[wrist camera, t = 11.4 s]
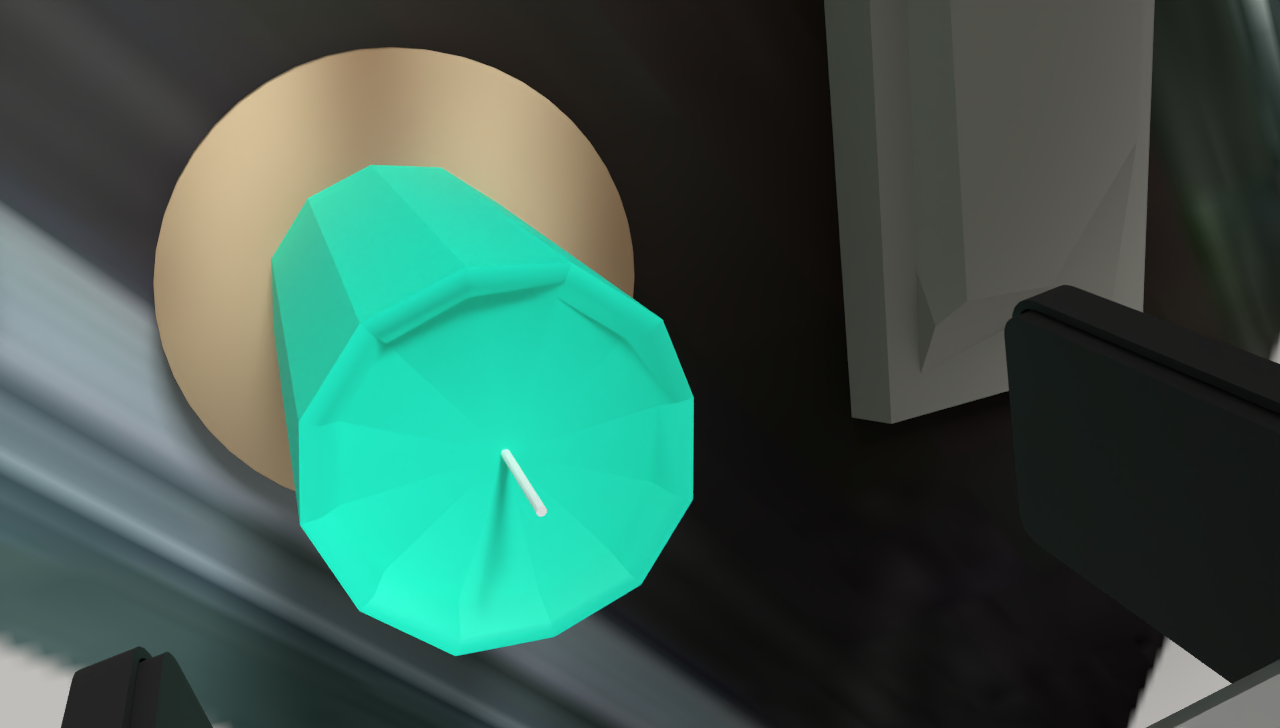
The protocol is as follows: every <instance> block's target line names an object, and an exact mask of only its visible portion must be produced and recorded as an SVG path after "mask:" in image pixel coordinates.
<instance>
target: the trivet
mask: <svg viewBox="0 0 1280 728" xmlns="http://www.w3.org/2000/svg"><path fill="white" fill-rule="evenodd" d="M370 165H390V166H417V167H441V168H443V169H445V170H446V171H448V172H449V173H451V174H452V175H454V176H456V177H457V178H459V179H460V180H462V181H464V182H465V183H467V184H468V185H470V186H472V187H473V188H475V189H476V190H478V191H480V192H481V193H483V194H484V195H486V196H488V197H489V198H491V199H492V200H494V201H496V202H497V203H499V204H500V205H501V206H503V207H504V208H506V209H507V210H509V211H510V212H511V213H513V214H514V215H516V216H517V217H518V218H520V219H521V220H523V221H524V222H525V223H527V224H528V225H530V226H531V227H533V228H534V229H535V230H537V231H538V232H540V233H541V234H542V235H544V236H545V237H547V238H548V239H549V240H551V241H552V242H554V243H555V244H557V245H558V246H559V247H561V248H562V249H564V250H565V251H566V252H568V253H569V254H571V255H572V256H574V257H575V258H576V259H578V260H579V261H581V262H582V263H583V264H585V265H586V266H588V267H589V268H590V269H592V270H593V271H595V272H596V273H598V274H599V275H600V276H602V277H603V278H605V279H606V280H607V281H609V282H610V283H612V284H613V285H614V286H616V287H617V288H619V289H620V290H622V291H623V292H624V293H626V294H627V295H629V296H630V297H631V298H633V291H634V260H633V247H632V241H631V236H630V231H629V225H628V220H627V217H626V214H625V211H624V208H623V205H622V202H621V199H620V196H619V193H618V191H617V189H616V187H615V185H614V182H613V180H612V178H611V176H610V174H609V172H608V170H607V168H606V166H605V165H604V163H603V161H602V160H601V158H600V157H599V155H598V154H597V152H596V151H595V149H594V148H593V146H592V144H591V143H590V142H589V141H588V139H587V138H586V137H585V136H584V135H583V134H582V132H581V131H580V130H579V129H578V128H577V126H576V125H575V124H574V123H573V122H572V121H571V120H570V119H569V118H568V117H567V116H566V115H565V114H564V113H563V112H561V111H560V110H559V109H558V108H557V107H556V106H555V105H554V104H553V103H551V102H550V101H549V100H548V99H547V98H545V97H544V96H542V95H541V94H539V93H538V92H536V91H535V90H533V89H532V88H531V87H529V86H528V85H526V84H525V83H523V82H521V81H519V80H517V79H515V78H513V77H512V76H510V75H508V74H506V73H504V72H502V71H500V70H498V69H496V68H493V67H490V66H488V65H485V64H482V63H479V62H476V61H473V60H470V59H467V58H465V57H460V56H455V55H450V54H445V53H440V52H435V51H430V50H425V49H415V48H400V47H381V48H366V49H356V50H351V51H346V52H341V53H337V54H332V55H327V56H324V57H321V58H318V59H315V60H312V61H310V62H307V63H304V64H301V65H298V66H295V67H293V68H291V69H290V70H288V71H286V72H284V73H282V74H280V75H278V76H276V77H274V78H272V79H270V80H268V81H266V82H265V83H263V84H262V85H261V86H259V87H258V88H256V89H255V90H254V91H252V92H251V93H249V94H248V95H247V96H245V97H244V98H242V99H241V100H240V101H238V102H237V103H236V104H235V105H234V106H233V107H232V108H231V109H230V110H229V111H228V112H227V113H226V114H225V115H224V116H223V117H221V118H220V119H219V120H218V121H217V122H216V123H215V124H214V126H213V127H212V128H211V129H210V131H209V132H208V133H207V134H206V136H205V137H204V138H203V140H202V141H201V142H200V143H199V145H198V146H197V147H196V148H195V150H194V152H193V153H192V155H191V157H190V158H189V160H188V162H187V164H186V165H185V167H184V169H183V171H182V172H181V174H180V176H179V178H178V180H177V183H176V185H175V188H174V190H173V193H172V195H171V198H170V200H169V203H168V206H167V208H166V211H165V214H164V218H163V222H162V226H161V231H160V235H159V239H158V244H157V248H156V257H155V270H154V282H153V283H154V298H155V312H156V319H157V323H158V328H159V333H160V337H161V342H162V346H163V349H164V352H165V354H166V357H167V360H168V362H169V365H170V368H171V370H172V373H173V376H174V378H175V380H176V381H177V383H178V385H179V387H180V389H181V390H182V392H183V394H184V396H185V398H186V399H187V401H188V403H189V405H190V406H191V407H192V409H193V410H194V411H195V413H196V414H197V415H198V417H199V418H200V419H201V421H202V422H203V423H204V425H205V426H206V427H207V429H208V430H209V431H210V432H211V433H212V434H213V435H214V436H215V437H216V438H217V439H218V440H219V441H220V442H221V443H222V444H223V445H224V446H225V447H226V448H227V449H228V450H229V451H230V452H231V453H233V454H234V455H235V456H237V457H238V458H239V459H241V460H242V461H243V462H244V463H246V464H247V465H248V466H250V467H251V468H252V469H254V470H255V471H257V472H258V473H260V474H262V475H264V476H265V477H267V478H269V479H271V480H272V481H274V482H276V483H278V484H279V485H281V486H283V487H286V488H288V489H291V490H293V491H295V485H294V478H293V470H292V463H291V455H290V448H289V440H288V433H287V425H286V418H285V410H284V403H283V396H282V388H281V381H280V373H279V366H278V358H277V351H276V343H275V336H274V328H273V296H272V257H273V255H274V254H275V252H276V250H277V249H278V247H279V245H280V244H281V242H282V240H283V239H284V237H285V235H286V234H287V232H288V230H289V229H290V227H291V225H292V224H293V222H294V220H295V219H296V217H297V215H298V214H299V212H300V210H301V209H302V207H303V205H304V204H305V202H306V200H307V199H308V198H309V197H311V196H313V195H315V194H317V193H319V192H320V191H322V190H324V189H326V188H328V187H330V186H332V185H334V184H336V183H337V182H339V181H341V180H343V179H345V178H347V177H349V176H351V175H353V174H354V173H356V172H358V171H360V170H362V169H364V168H366V167H368V166H370Z"/></svg>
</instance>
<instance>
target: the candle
mask: <svg viewBox="0 0 1280 728" xmlns="http://www.w3.org/2000/svg"><path fill="white" fill-rule="evenodd" d="M272 296H273V328H274V336H275V343H276V351H277V358H278V366H279V373H280V381H281V388H282V396H283V403H284V410H285V418H286V425H287V433H288V440H289V448H290V455H291V463H292V470H293V478H294V485H295V493H296V500H297V507H298V515H299V522H300V526H301V527H302V529H303V530H304V532H305V533H306V534H307V536H308V537H309V539H310V540H311V542H312V543H313V545H314V546H315V548H316V549H317V550H318V552H319V553H320V555H321V556H322V558H323V559H324V561H325V562H326V563H327V565H328V566H329V568H330V569H331V571H332V572H333V574H334V575H335V576H336V578H337V579H338V581H339V582H340V584H341V585H342V587H343V588H344V590H345V591H346V592H347V594H348V595H349V597H350V598H351V600H352V601H353V603H354V604H355V605H356V607H357V608H358V610H359V611H361V612H363V613H365V614H367V615H369V616H371V617H373V618H375V619H378V620H380V621H382V622H384V623H386V624H388V625H390V626H392V627H395V628H397V629H399V630H401V631H403V632H405V633H407V634H409V635H412V636H414V637H416V638H418V639H420V640H422V641H424V642H426V643H429V644H431V645H433V646H435V647H437V648H439V649H441V650H443V651H445V652H448V653H450V654H452V655H454V656H459V655H464V654H469V653H474V652H480V651H485V650H490V649H495V648H500V647H505V646H511V645H516V644H521V643H526V642H531V641H536V640H542V639H547V638H552V637H555V636H557V635H558V634H560V633H562V632H563V631H565V630H567V629H568V628H570V627H572V626H573V625H575V624H577V623H578V622H580V621H582V620H583V619H585V618H587V617H588V616H590V615H592V614H593V613H595V612H597V611H598V610H600V609H602V608H603V607H605V606H607V605H608V604H610V603H611V602H613V601H615V600H616V599H618V598H620V597H621V596H623V595H625V594H626V593H628V592H630V591H631V590H633V589H635V588H636V587H638V586H640V585H641V584H642V582H643V581H644V579H645V578H646V576H647V574H648V573H649V571H650V569H651V568H652V566H653V564H654V563H655V561H656V559H657V558H658V556H659V555H660V553H661V551H662V550H663V548H664V546H665V545H666V543H667V541H668V540H669V538H670V536H671V535H672V533H673V531H674V530H675V528H676V527H677V525H678V523H679V522H680V520H681V518H682V517H683V515H684V513H685V512H686V510H687V508H688V507H689V505H690V504H691V502H692V500H693V438H694V397H693V394H692V392H691V389H690V387H689V384H688V382H687V379H686V377H685V374H684V372H683V369H682V367H681V364H680V362H679V359H678V357H677V354H676V352H675V349H674V347H673V344H672V342H671V339H670V337H669V334H668V332H667V329H666V327H665V324H664V322H663V319H661V318H660V317H658V316H657V315H655V314H654V313H653V312H651V311H650V310H648V309H647V308H646V307H644V306H643V305H641V304H640V303H639V302H637V301H636V300H634V299H633V298H631V297H630V296H629V295H627V294H626V293H624V292H623V291H622V290H620V289H619V288H617V287H616V286H614V285H613V284H612V283H610V282H609V281H607V280H606V279H605V278H603V277H602V276H600V275H599V274H598V273H596V272H595V271H593V270H592V269H590V268H589V267H588V266H586V265H585V264H583V263H582V262H581V261H579V260H578V259H576V258H575V257H574V256H572V255H571V254H569V253H568V252H566V251H565V250H564V249H562V248H561V247H559V246H558V245H557V244H555V243H554V242H552V241H551V240H549V239H548V238H547V237H545V236H544V235H542V234H541V233H540V232H538V231H537V230H535V229H534V228H533V227H531V226H530V225H528V224H527V223H525V222H524V221H523V220H521V219H520V218H518V217H517V216H516V215H514V214H513V213H511V212H510V211H509V210H507V209H506V208H504V207H503V206H501V205H500V204H499V203H497V202H496V201H494V200H492V199H491V198H489V197H488V196H486V195H484V194H483V193H481V192H480V191H478V190H476V189H475V188H473V187H472V186H470V185H468V184H467V183H465V182H464V181H462V180H460V179H459V178H457V177H456V176H454V175H452V174H451V173H449V172H448V171H446V170H445V169H443V168H441V167H417V166H390V165H370V166H368V167H366V168H364V169H362V170H360V171H358V172H356V173H354V174H353V175H351V176H349V177H347V178H345V179H343V180H341V181H339V182H337V183H336V184H334V185H332V186H330V187H328V188H326V189H324V190H322V191H320V192H319V193H317V194H315V195H313V196H311V197H309V198H308V199H307V200H306V202H305V204H304V205H303V207H302V209H301V210H300V212H299V214H298V215H297V217H296V219H295V220H294V222H293V224H292V225H291V227H290V229H289V230H288V232H287V234H286V235H285V237H284V239H283V240H282V242H281V244H280V245H279V247H278V249H277V250H276V252H275V254H274V255H273V257H272Z"/></svg>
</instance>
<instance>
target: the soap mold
mask: <svg viewBox="0 0 1280 728" xmlns="http://www.w3.org/2000/svg"><path fill="white" fill-rule="evenodd" d="M1154 5H1155V0H824V6H825V22H826V37H827V52H828V67H829V83H830V98H831V113H832V128H833V143H834V159H835V174H836V189H837V204H838V220H839V235H840V250H841V265H842V279H843V294H844V309H845V324H846V339H847V353H848V368H849V383H850V398H851V413H852V417H853V418H859V419H865V420H871V421H877V422H884V423H890V424H892V423H896V422H899V421H903V420H907V419H910V418H914V417H917V416H921V415H924V414H928V413H931V412H935V411H938V410H942V409H946V408H949V407H953V406H956V405H960V404H963V403H967V402H970V401H974V400H977V399H981V398H985V397H988V396H992V395H995V394H999V393H1002V392H1006V391H1009V386H1008V374H1007V362H1006V350H1005V339H1004V328H1005V325H1006V322H1007V321H1008V320H1009V319H1011V318H1012V313H1013V311H1014V308H1015V306H1016V305H1017V304H1018V303H1019V302H1020V301H1022V300H1025V299H1028V298H1030V297H1033V296H1035V295H1038V294H1040V293H1043V292H1045V291H1048V290H1051V289H1053V288H1056V287H1058V286H1062V285H1070V286H1074V287H1077V288H1079V289H1082V290H1085V291H1087V292H1090V293H1093V294H1095V295H1098V296H1100V297H1103V298H1106V299H1108V300H1111V301H1114V302H1116V303H1119V304H1122V305H1124V306H1127V307H1130V308H1132V309H1135V310H1138V311H1140V312H1143V295H1144V269H1145V242H1146V216H1147V189H1148V163H1149V137H1150V110H1151V84H1152V57H1153V31H1154Z"/></svg>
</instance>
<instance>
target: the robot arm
mask: <svg viewBox="0 0 1280 728" xmlns="http://www.w3.org/2000/svg"><path fill="white" fill-rule="evenodd" d="M1004 339H1005V350H1006V362H1007V374H1008V386H1009V397H1010V409H1011V421H1012V432H1013V444H1014V456H1015V468H1016V479H1017V491H1018V503H1019V513H1020V518H1021V521H1022V524H1023V526H1024V528H1025V530H1026V532H1027V533H1028V535H1029V536H1030V537H1031V538H1032V540H1033V541H1034V542H1036V543H1037V544H1038V545H1039V546H1041V547H1042V548H1043V549H1045V550H1046V551H1048V552H1049V553H1050V554H1052V555H1053V556H1055V557H1056V558H1057V559H1059V560H1060V561H1061V562H1063V563H1064V564H1066V565H1067V566H1068V567H1070V568H1071V569H1073V570H1074V571H1075V572H1077V573H1078V574H1080V575H1081V576H1082V577H1084V578H1085V579H1087V580H1088V581H1089V582H1091V583H1092V584H1094V585H1095V586H1096V587H1098V588H1099V589H1101V590H1102V591H1103V592H1105V593H1106V594H1108V595H1109V596H1110V597H1112V598H1113V599H1115V600H1116V601H1117V602H1119V603H1120V604H1121V605H1123V606H1124V607H1126V608H1127V609H1128V610H1130V611H1131V612H1133V613H1134V614H1135V615H1137V616H1138V617H1140V618H1141V619H1142V620H1144V621H1145V622H1147V623H1148V624H1149V625H1151V626H1152V627H1154V628H1155V629H1156V630H1158V631H1159V632H1161V633H1162V634H1163V635H1165V636H1166V637H1168V638H1169V639H1170V640H1172V641H1173V642H1175V643H1176V644H1177V645H1179V646H1180V647H1182V648H1183V649H1184V650H1186V651H1187V652H1188V653H1190V654H1191V655H1193V656H1194V657H1195V658H1197V659H1198V660H1200V661H1201V662H1202V663H1204V664H1205V665H1207V666H1208V667H1209V668H1211V669H1212V670H1214V671H1215V672H1217V673H1218V674H1219V675H1221V676H1222V677H1223V678H1225V679H1226V680H1228V681H1229V682H1230V683H1232V684H1231V685H1229V686H1227V687H1225V688H1223V689H1221V690H1219V691H1217V692H1215V693H1213V694H1211V695H1209V696H1207V697H1205V698H1203V699H1201V700H1199V701H1197V702H1196V703H1193V704H1192V705H1190V706H1188V707H1186V708H1184V709H1182V710H1180V711H1178V712H1176V713H1174V714H1172V715H1170V716H1168V717H1166V718H1164V719H1162V720H1160V721H1158V722H1156V723H1154V724H1152V725H1151V726H1149V727H1147V728H1280V364H1278V363H1276V362H1273V361H1270V360H1268V359H1265V358H1262V357H1260V356H1257V355H1254V354H1252V353H1249V352H1246V351H1244V350H1241V349H1238V348H1236V347H1233V346H1230V345H1228V344H1225V343H1223V342H1220V341H1217V340H1215V339H1212V338H1209V337H1207V336H1204V335H1201V334H1199V333H1196V332H1193V331H1191V330H1188V329H1185V328H1183V327H1180V326H1177V325H1175V324H1172V323H1169V322H1167V321H1164V320H1161V319H1159V318H1156V317H1154V316H1151V315H1148V314H1146V313H1143V312H1140V311H1138V310H1135V309H1132V308H1130V307H1127V306H1124V305H1122V304H1119V303H1116V302H1114V301H1111V300H1108V299H1106V298H1103V297H1100V296H1098V295H1095V294H1093V293H1090V292H1087V291H1085V290H1082V289H1079V288H1077V287H1074V286H1070V285H1062V286H1058V287H1056V288H1053V289H1051V290H1048V291H1045V292H1043V293H1040V294H1038V295H1035V296H1033V297H1030V298H1028V299H1025V300H1022V301H1020V302H1019V303H1018V304H1017V305H1016V306H1015V308H1014V311H1013V313H1012V318H1011V319H1009V320H1008V321H1007V322H1006V325H1005V328H1004ZM61 728H213V727H212V725H211V723H210V722H209V720H208V718H207V716H206V714H205V712H204V710H203V709H202V707H201V705H200V703H199V701H198V699H197V697H196V696H195V694H194V692H193V690H192V688H191V686H190V685H189V683H188V681H187V679H186V677H185V675H184V673H183V672H182V670H181V668H180V666H179V664H178V663H177V661H176V659H175V658H174V657H173V656H172V655H171V654H170V653H168V652H165V653H163V654H160V655H158V656H155V657H153V658H152V657H151V655H150V654H149V653H148V652H147V651H146V650H145V649H144V648H142V647H136V648H134V649H131V650H129V651H126V652H124V653H121V654H118V655H116V656H113V657H111V658H108V659H106V660H103V661H101V662H98V663H95V664H93V665H90V666H88V667H85V668H83V669H80V670H78V671H77V672H75V674H74V677H73V679H72V683H71V687H70V691H69V696H68V700H67V704H66V709H65V713H64V717H63V721H62V726H61Z"/></svg>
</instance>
